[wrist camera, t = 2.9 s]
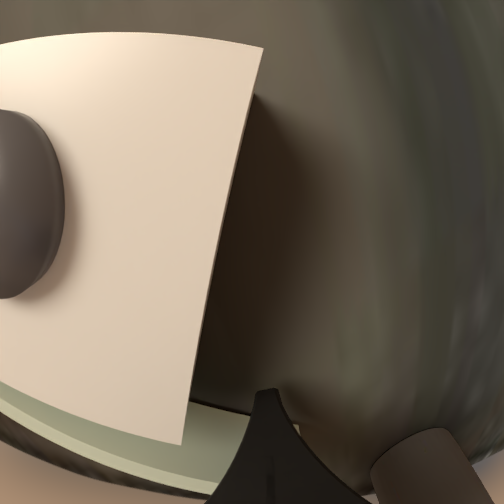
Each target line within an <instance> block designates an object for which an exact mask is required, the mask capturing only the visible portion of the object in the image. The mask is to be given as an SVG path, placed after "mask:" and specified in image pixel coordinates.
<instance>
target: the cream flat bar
mask: <svg viewBox="0 0 504 504" xmlns="http://www.w3.org/2000/svg"><path fill="white" fill-rule="evenodd" d="M0 412H2V413H3V414H5V415H6V416H8V417H9V418H11V419H13V420H14V421H16V422H18V423H19V424H21V425H23V426H24V427H26V428H28V429H30V430H31V431H33V432H35V433H37V434H39V435H41V436H42V437H44V438H46V439H48V440H50V441H52V442H54V443H56V444H58V445H60V446H62V447H64V448H66V449H69V450H71V451H73V452H75V453H77V454H80V455H82V456H84V457H86V458H89V459H91V460H94V461H96V462H99V463H101V464H104V465H106V466H109V467H112V468H114V469H117V470H120V471H123V472H126V473H129V474H132V475H135V476H138V477H141V478H144V479H148V480H151V481H155V482H158V483H162V484H166V485H169V486H173V487H177V488H182V489H186V490H191V491H195V492H200V493H205V494H211V495H212V493H213V492H214V490H215V489H216V487H217V486H218V485H219V483H220V482H221V480H222V479H223V477H224V475H225V474H226V472H227V470H228V468H229V467H230V465H231V463H232V461H233V459H234V457H235V455H236V453H237V450H238V448H239V446H240V444H241V441H242V439H243V437H244V434H245V431H246V428H247V425H248V423H249V420H250V416H246V415H241V414H237V413H232V412H228V411H224V410H220V409H216V408H212V407H208V406H204V405H200V404H197V403H193V402H190V401H189V403H188V409H187V414H186V420H185V425H184V431H183V437H182V443H181V445H176V444H171V443H167V442H162V441H158V440H154V439H150V438H146V437H142V436H138V435H134V434H131V433H127V432H124V431H120V430H117V429H114V428H111V427H107V426H104V425H101V424H98V423H95V422H92V421H89V420H87V419H84V418H81V417H78V416H76V415H73V414H70V413H68V412H65V411H63V410H60V409H58V408H56V407H53V406H51V405H49V404H46V403H44V402H42V401H39V400H37V399H35V398H33V397H31V396H29V395H27V394H24V393H22V392H20V391H18V390H16V389H14V388H12V387H10V386H9V385H7V384H5V383H3V382H1V381H0ZM293 425H294V427H295V428H296V430H297V432H298V433H299V434H300V431H299V426H298V425H295V424H293Z"/></svg>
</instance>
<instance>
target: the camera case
mask: <svg viewBox="0 0 504 504" xmlns="http://www.w3.org/2000/svg"><path fill="white" fill-rule="evenodd" d="M262 53H263V48H259V47H254V46H250V45H244V44H239V43H234V42H228V41H222V40H215V39H208V38H201V37H193V36H183V35H172V34H159V33H137V32H102V33H81V34H68V35H57V36H49V37H41V38H34V39H27V40H22V41H16V42H11V43H6V44H1V45H0V381H1V382H3V383H5V384H7V385H9V386H10V387H12V388H14V389H16V390H18V391H20V392H22V393H24V394H27V395H29V396H31V397H33V398H35V399H37V400H39V401H42V402H44V403H46V404H49V405H51V406H53V407H56V408H58V409H60V410H63V411H65V412H68V413H70V414H73V415H76V416H78V417H81V418H84V419H87V420H89V421H92V422H95V423H98V424H101V425H104V426H107V427H111V428H114V429H117V430H120V431H124V432H127V433H131V434H134V435H138V436H142V437H146V438H150V439H154V440H158V441H162V442H167V443H171V444H176V445H181V443H182V437H183V431H184V425H185V420H186V414H187V409H188V403H189V397H190V392H191V387H192V381H193V376H194V371H195V365H196V360H197V354H198V348H199V343H200V337H201V332H202V327H203V321H204V316H205V311H206V306H207V300H208V295H209V290H210V285H211V280H212V275H213V270H214V265H215V260H216V256H217V251H218V246H219V241H220V237H221V232H222V227H223V223H224V218H225V213H226V209H227V204H228V200H229V195H230V191H231V186H232V182H233V178H234V173H235V169H236V165H237V160H238V156H239V152H240V147H241V143H242V139H243V135H244V131H245V127H246V123H247V119H248V115H249V110H250V106H251V102H252V99H253V95H254V90H255V85H256V81H257V76H258V71H259V67H260V62H261V58H262Z"/></svg>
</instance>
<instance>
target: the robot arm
mask: <svg viewBox="0 0 504 504" xmlns="http://www.w3.org/2000/svg"><path fill="white" fill-rule="evenodd" d="M204 504H372V503H370V502H368V501H367V500H365V499H364V498H363V497H361V496H360V495H359V494H357V493H356V492H355V491H353V490H352V489H351V488H349V487H348V486H347V485H346V484H345V483H344V482H342V481H341V480H340V479H339V478H338V477H337V476H336V475H335V474H333V473H332V472H331V471H330V470H329V469H328V468H327V467H326V466H325V465H324V464H323V463H322V462H321V460H320V459H319V458H318V457H317V456H316V455H315V454H314V453H313V451H312V450H311V449H310V448H309V447H308V445H307V444H306V443H305V441H304V440H303V439H302V437H301V436H300V434H299V433H298V432H297V430H296V428H295V427H294V425H293V424H292V422H291V420H290V419H289V417H288V415H287V413H286V411H285V409H284V407H283V405H282V402H281V399H280V395H279V392H278V389H276V388H271V389H266V390H262V391H257V393H256V395H255V401H254V405H253V409H252V413H251V416H250V420H249V423H248V425H247V428H246V431H245V434H244V437H243V439H242V441H241V444H240V446H239V448H238V450H237V453H236V455H235V457H234V459H233V461H232V463H231V465H230V467H229V468H228V470H227V472H226V474H225V475H224V477H223V479H222V480H221V482H220V483H219V485H218V486H217V487H216V489H215V490H214V492H213V493H212V495H211V496H210V497H209V499H208V500H207V501H206V502H205V503H204Z"/></svg>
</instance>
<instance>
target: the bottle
mask: <svg viewBox="0 0 504 504" xmlns="http://www.w3.org/2000/svg"><path fill="white" fill-rule="evenodd" d="M370 477H371V481H372V484H373V487H374V490H375V492H376V495H377V498H378V501H379V504H494V502H493V501H492V499H491V497H490V496H489V494H488V492H487V490H486V489H485V487H484V485H483V484H482V482H481V480H480V479H479V477H478V475H477V474H476V472H475V471H474V469H473V467H472V466H471V464H470V463H469V461H468V459H467V458H466V456H465V455H464V453H463V451H462V450H461V448H460V447H459V445H458V444H457V442H456V441H455V439H454V438H453V437H452V435H451V434H450V433H449V431H448V430H446V429H444V428H431V429H427V430H424V431H421V432H419V433H417V434H414V435H412V436H410V437H408V438H406V439H404V440H403V441H401V442H399V443H398V444H396V445H395V446H393V447H392V448H391V449H389V450H388V451H387V452H385V453H384V454H383V455H382V456H381V457H380V458H379V459H378V460H377V461H376V462H375V464H374V465H373V467H372V469H371V472H370Z"/></svg>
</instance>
